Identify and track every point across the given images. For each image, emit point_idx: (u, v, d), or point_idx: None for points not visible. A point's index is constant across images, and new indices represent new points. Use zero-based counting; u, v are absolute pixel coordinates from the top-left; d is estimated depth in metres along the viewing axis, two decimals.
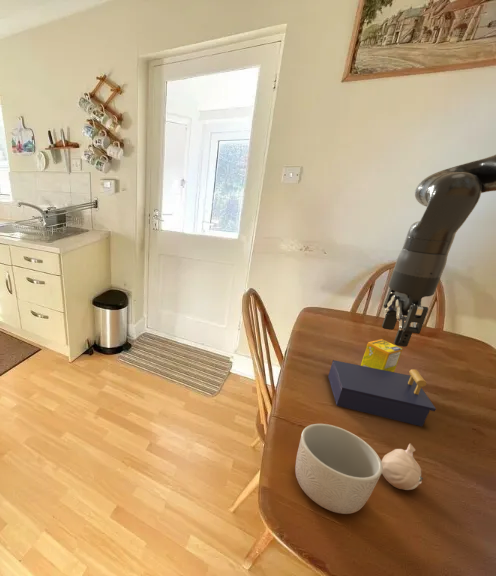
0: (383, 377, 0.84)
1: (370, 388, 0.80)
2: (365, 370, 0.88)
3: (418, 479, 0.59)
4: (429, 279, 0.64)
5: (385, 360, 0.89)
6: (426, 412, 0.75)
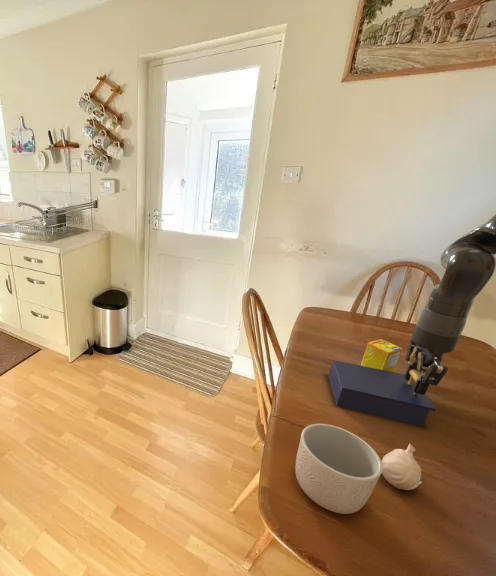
0: (383, 377, 0.84)
1: (370, 388, 0.80)
2: (365, 370, 0.88)
3: (418, 479, 0.59)
4: (450, 338, 0.71)
5: (385, 360, 0.89)
6: (426, 412, 0.75)
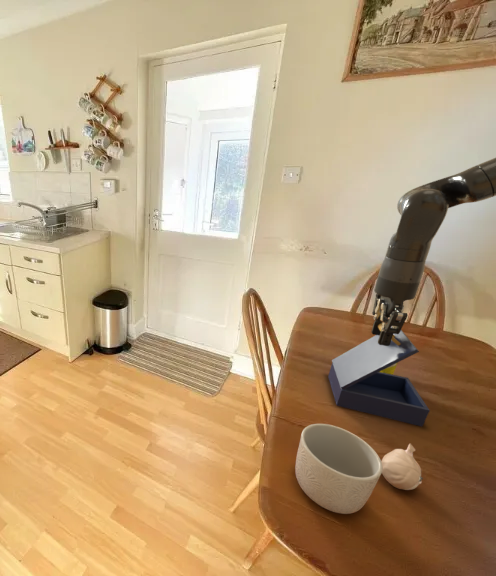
0: (371, 347, 0.83)
1: (362, 369, 0.80)
2: (357, 350, 0.87)
3: (418, 479, 0.59)
4: (409, 284, 0.70)
5: None
6: (426, 412, 0.75)
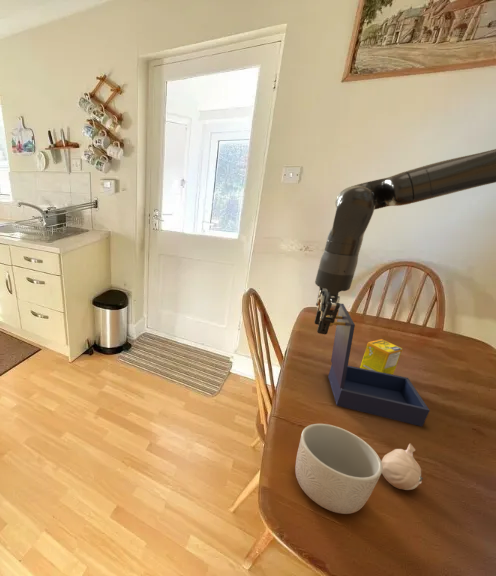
0: (338, 335, 0.85)
1: (341, 361, 0.81)
2: (335, 342, 0.88)
3: (418, 479, 0.59)
4: (343, 276, 0.75)
5: (385, 360, 0.89)
6: (426, 412, 0.75)
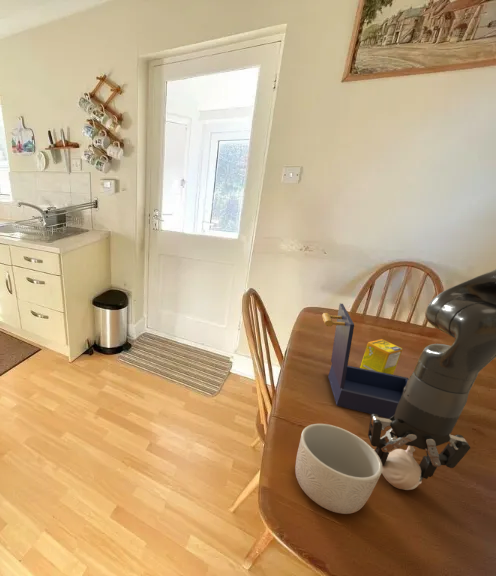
0: (338, 335, 0.85)
1: (341, 361, 0.81)
2: (335, 342, 0.88)
3: (418, 479, 0.59)
4: (406, 401, 0.57)
5: (385, 360, 0.89)
6: None
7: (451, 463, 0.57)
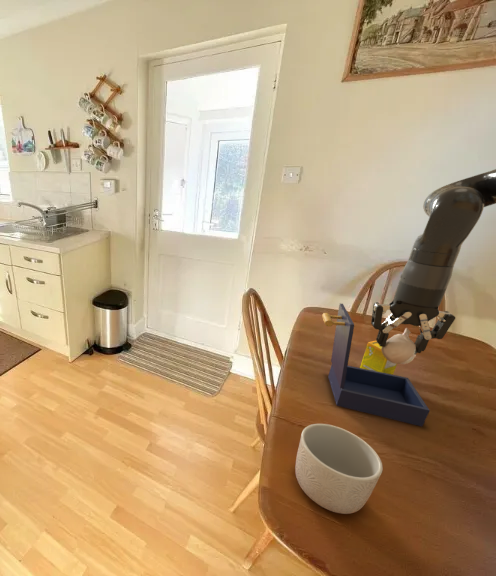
0: (338, 335, 0.85)
1: (341, 361, 0.81)
2: (335, 342, 0.88)
3: (413, 352, 0.71)
4: (402, 284, 0.69)
5: (385, 360, 0.89)
6: (426, 412, 0.75)
7: (440, 335, 0.69)
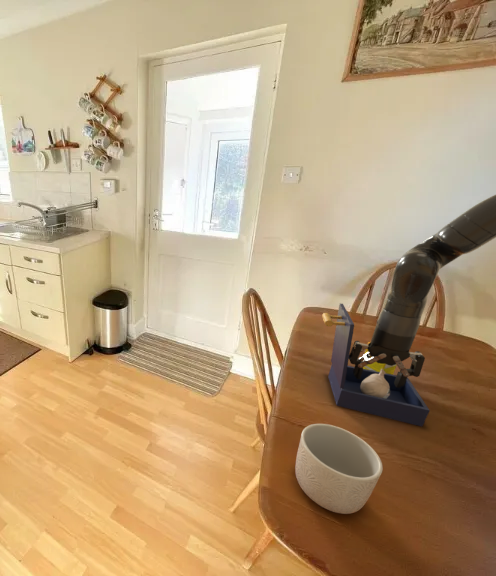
0: (338, 335, 0.85)
1: (341, 361, 0.81)
2: (335, 342, 0.88)
3: (387, 392, 0.81)
4: (378, 329, 0.78)
5: None
6: (426, 412, 0.75)
7: (416, 373, 0.78)
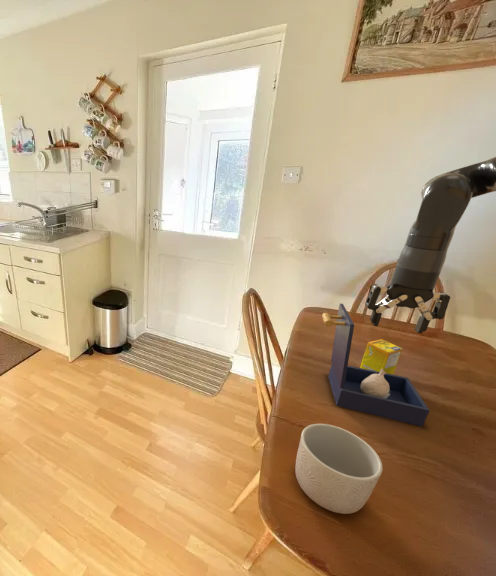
0: (338, 335, 0.85)
1: (341, 361, 0.81)
2: (335, 342, 0.88)
3: (387, 392, 0.81)
4: (399, 268, 0.72)
5: (385, 360, 0.89)
6: (426, 412, 0.75)
7: (440, 315, 0.72)
